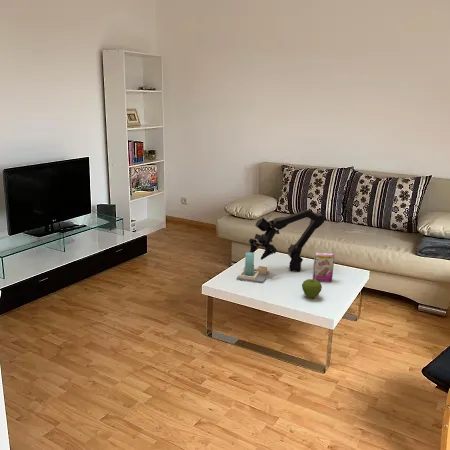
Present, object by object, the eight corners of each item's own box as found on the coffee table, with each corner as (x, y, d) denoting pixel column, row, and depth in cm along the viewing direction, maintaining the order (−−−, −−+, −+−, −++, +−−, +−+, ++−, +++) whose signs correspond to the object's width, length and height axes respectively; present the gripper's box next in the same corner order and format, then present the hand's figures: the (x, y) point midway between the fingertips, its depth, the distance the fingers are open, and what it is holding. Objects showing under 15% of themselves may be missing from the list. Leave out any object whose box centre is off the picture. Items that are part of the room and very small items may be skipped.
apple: (297, 294, 266) (298, 277, 264) (314, 291, 270) (315, 275, 267) (308, 302, 257) (309, 284, 254) (324, 299, 260) (326, 282, 258)
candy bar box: (313, 281, 285) (315, 255, 280) (312, 278, 289) (314, 252, 285) (332, 282, 284) (334, 256, 279) (331, 279, 288) (333, 253, 284)
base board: (269, 273, 296) (269, 266, 295) (263, 283, 280) (263, 276, 279) (244, 269, 301) (244, 263, 299) (236, 279, 285) (236, 273, 284)
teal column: (254, 274, 290) (254, 252, 286) (252, 277, 285) (252, 255, 281) (246, 273, 291) (246, 251, 287) (243, 276, 286) (244, 254, 283)
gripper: (251, 225, 294) (237, 246, 289) (274, 232, 280) (260, 254, 276) (259, 235, 301) (246, 256, 297) (282, 242, 288) (269, 264, 284)
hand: (255, 257), depth 288 cm, fingers open, 9 cm apart
